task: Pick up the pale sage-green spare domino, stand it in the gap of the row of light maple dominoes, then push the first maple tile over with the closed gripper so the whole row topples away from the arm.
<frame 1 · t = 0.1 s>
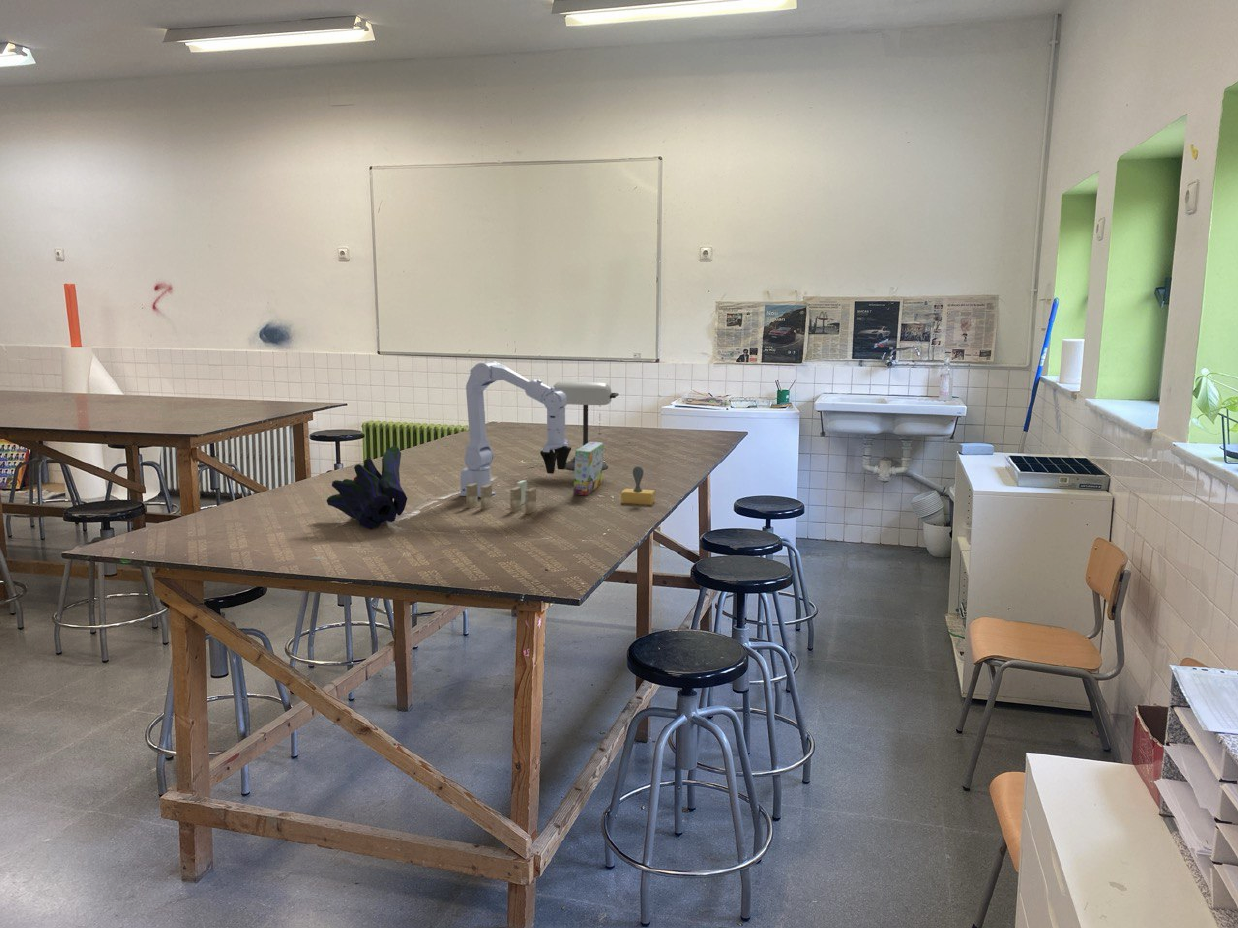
hand: (555, 471, 286), 10 cm above the table, fingers open, 7 cm apart
spare domino: (522, 503, 285), on the table
domino 5: (530, 511, 273), on the table
snack box: (588, 489, 308), on the table
lamp: (583, 468, 346), on the table
dark blue lobed piece: (370, 520, 261), on the table
domino 4: (515, 510, 275), on the table
rubber stamp: (637, 503, 289), on the table
domino 2: (486, 507, 278), on the table
domino 1: (472, 506, 280), on the table
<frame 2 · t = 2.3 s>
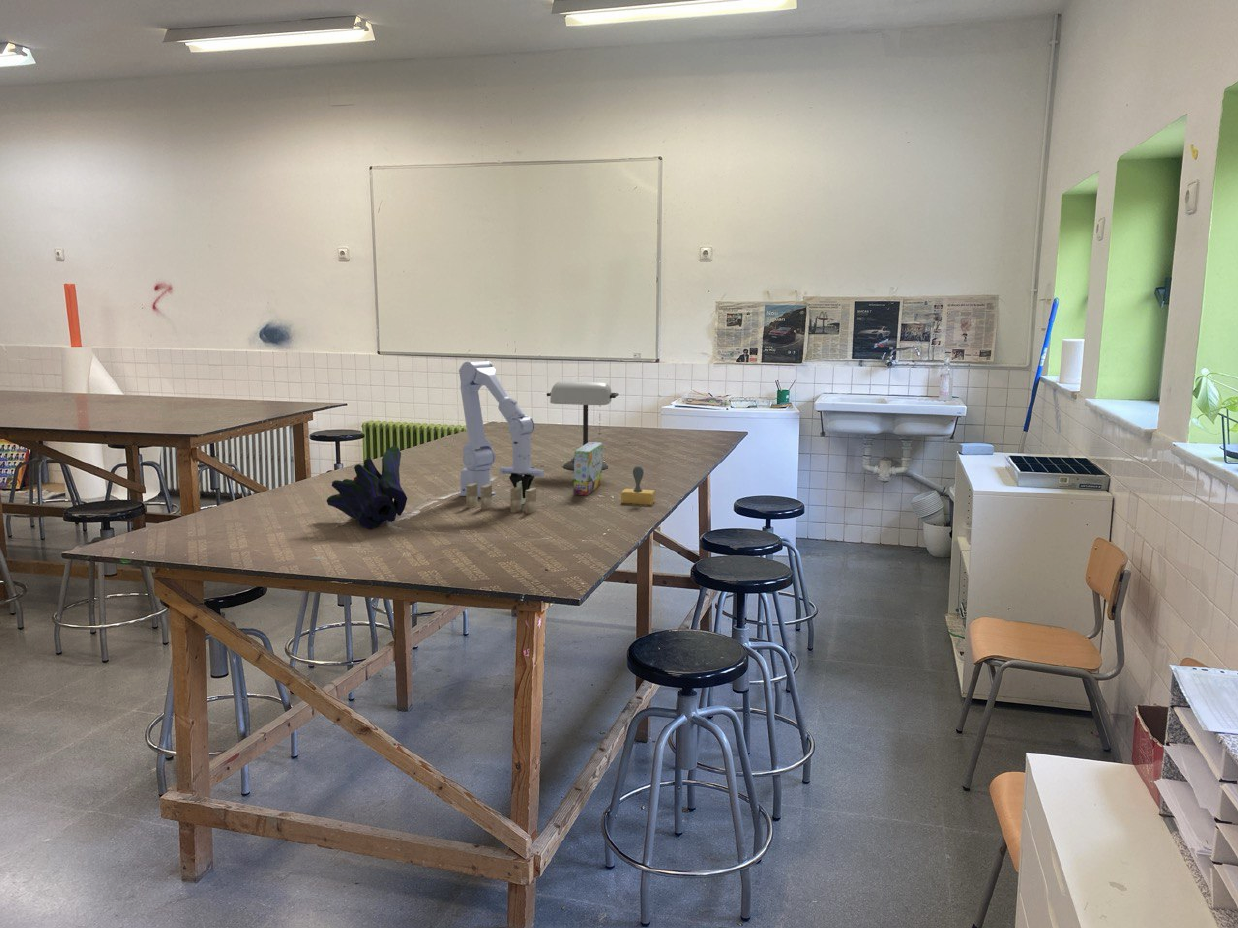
hand: (522, 497, 285), 2 cm above the table, fingers closed on spare domino, 2 cm apart
spare domino: (522, 503, 285), on the table, touching gripper
everything else where it was.
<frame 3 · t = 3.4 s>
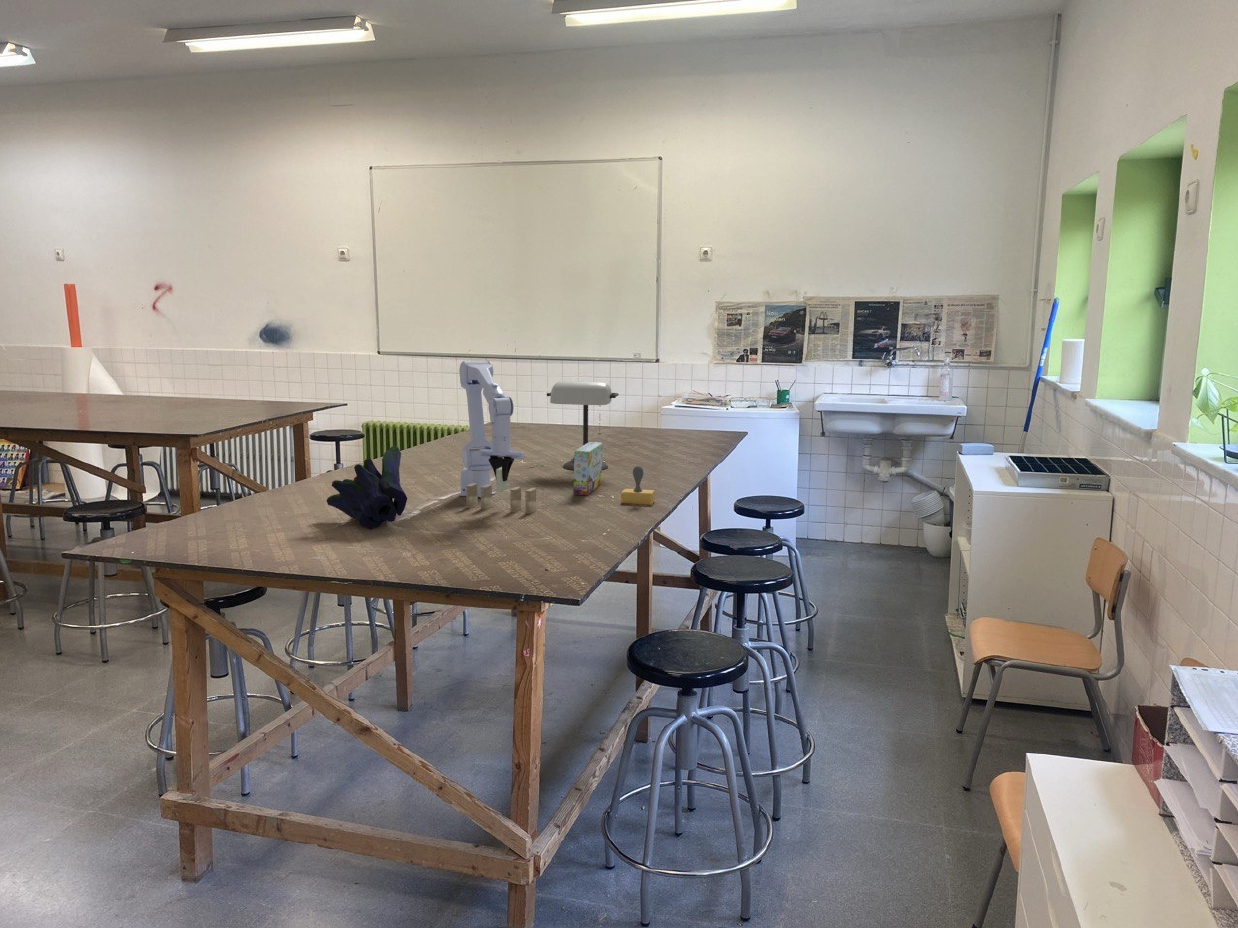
hand: (501, 480, 275), 9 cm above the table, fingers closed on spare domino
spare domino: (502, 490, 276), point 6 cm above the table, touching gripper
everything else where it was.
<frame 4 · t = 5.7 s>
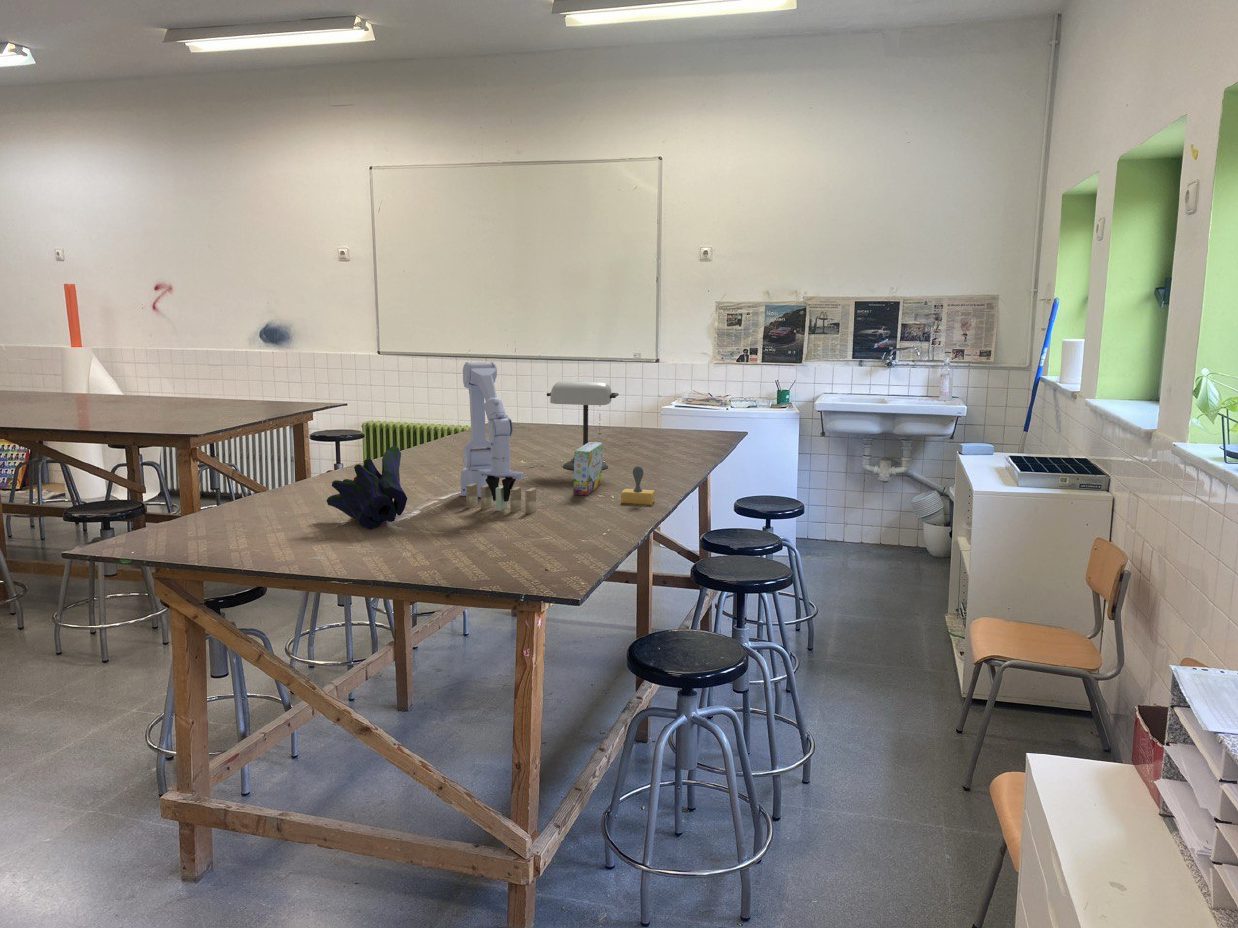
hand: (501, 500, 276), 3 cm above the table, fingers open, 3 cm apart
spare domino: (501, 509, 277), on the table
everything else where it was.
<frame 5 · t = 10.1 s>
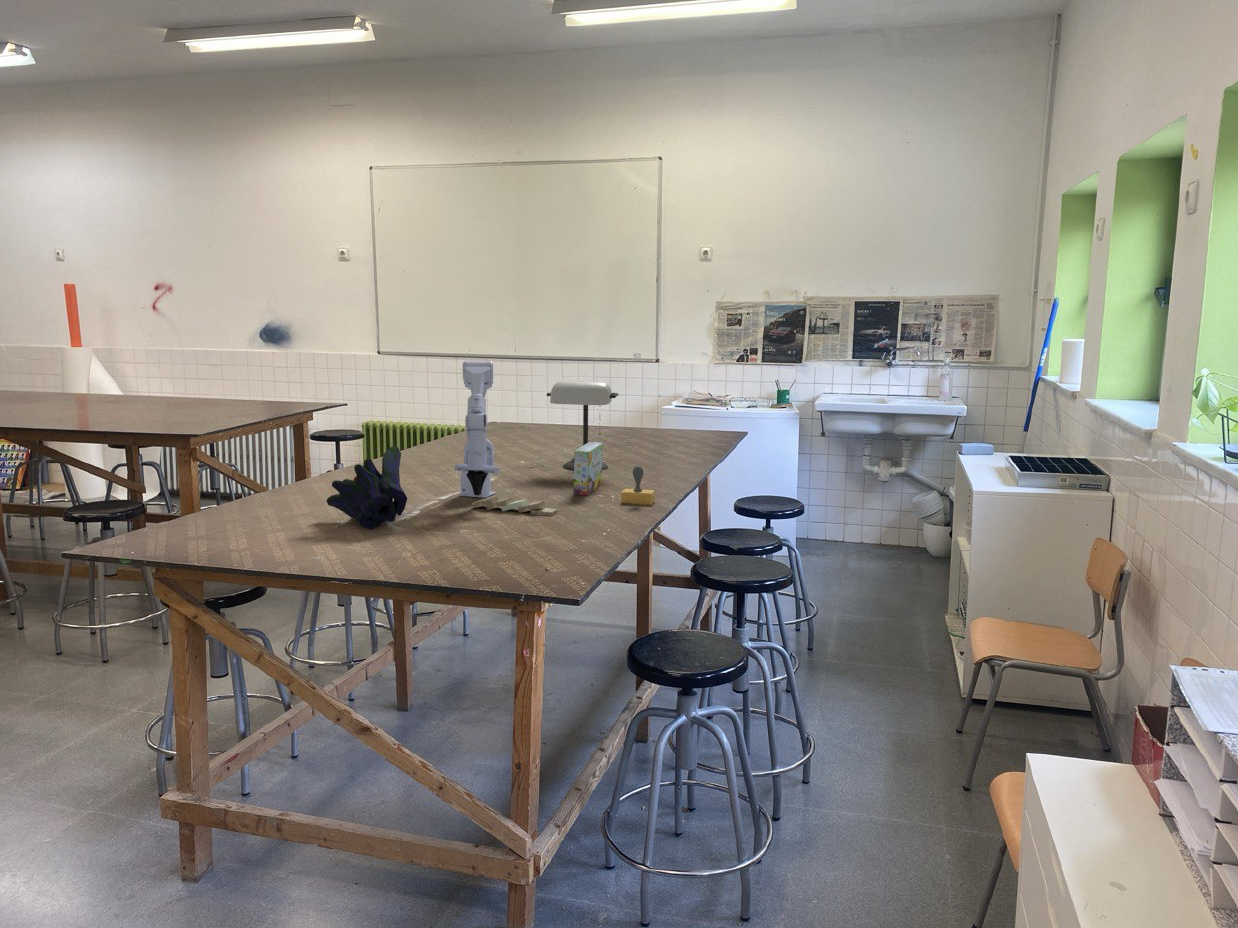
hand: (477, 494, 278), 4 cm above the table, fingers closed
spare domino: (504, 507, 276), point 1 cm above the table, tilted 73°, touching domino 2, domino 4
domino 5: (533, 511, 273), on the table, tilted 90°
domino 4: (521, 508, 274), point 1 cm above the table, tilted 74°, touching spare domino
domino 2: (490, 505, 278), point 1 cm above the table, tilted 71°, touching domino 1, spare domino
domino 1: (475, 504, 279), point 1 cm above the table, tilted 71°, touching domino 2
everything else where it was.
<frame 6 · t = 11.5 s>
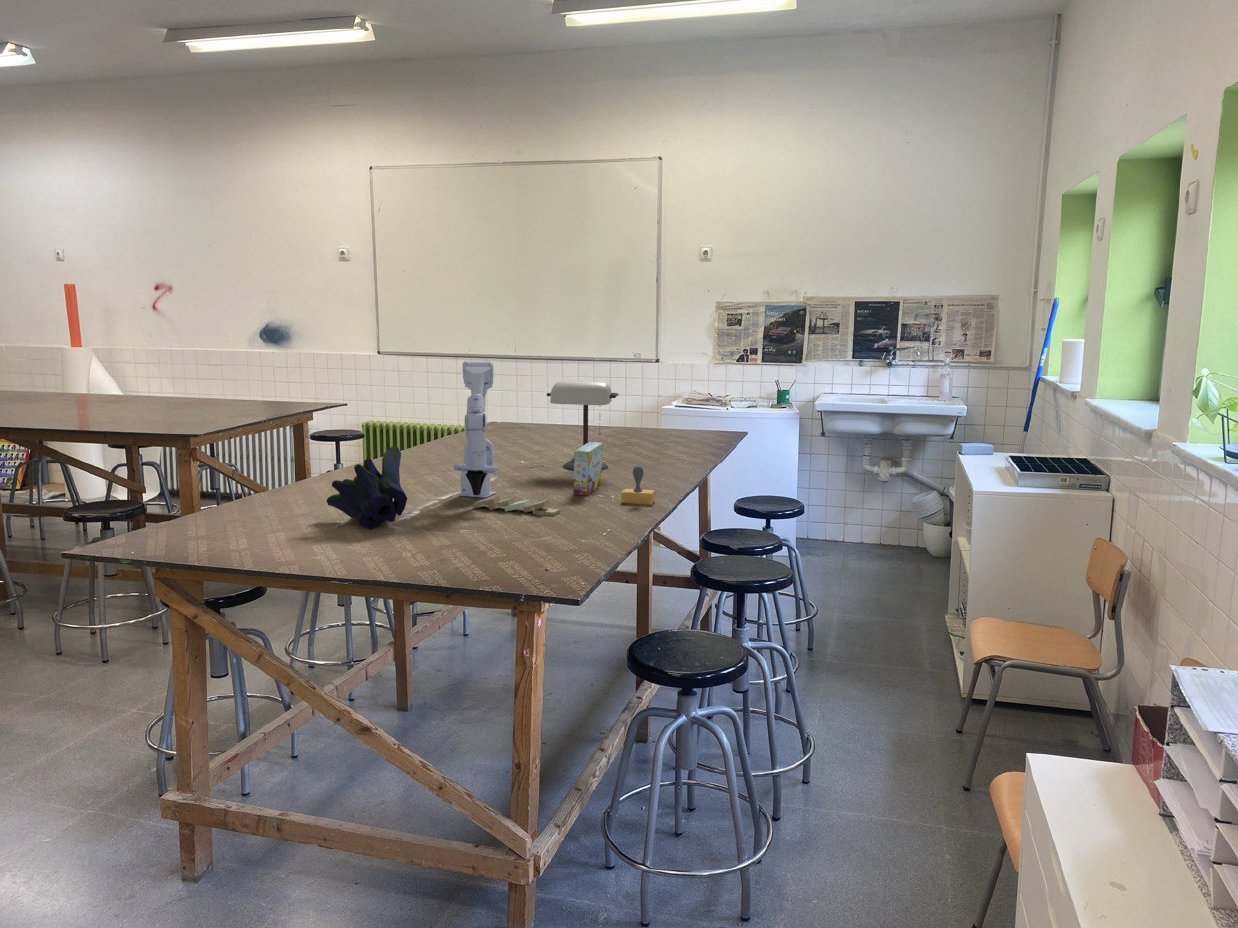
hand: (476, 494, 278), 4 cm above the table, fingers closed
spare domino: (507, 507, 276), point 1 cm above the table, tilted 74°
domino 4: (526, 508, 274), point 1 cm above the table, tilted 70°
domino 2: (491, 505, 278), point 1 cm above the table, tilted 73°, touching domino 1
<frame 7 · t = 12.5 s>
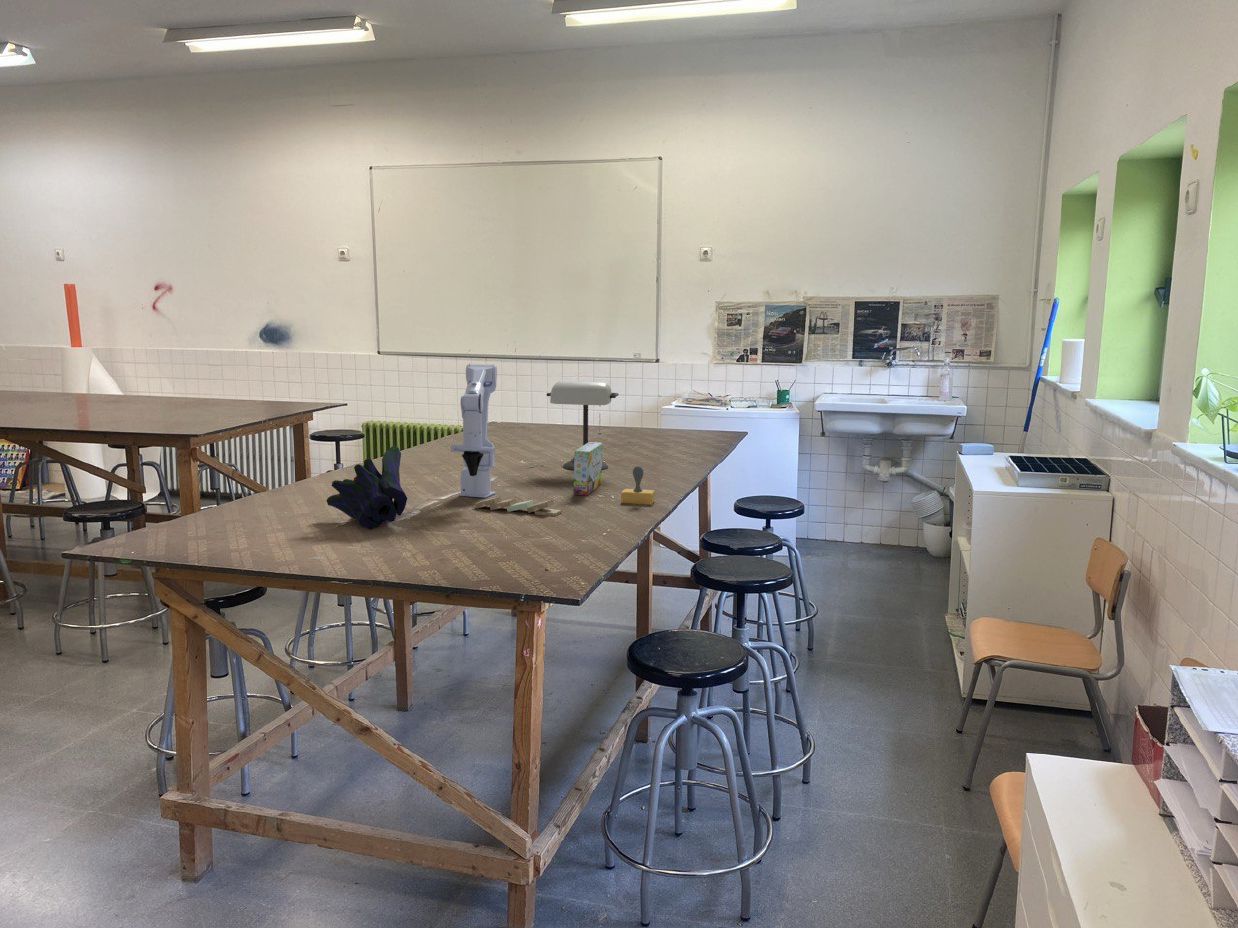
hand: (473, 475, 280), 9 cm above the table, fingers closed
spare domino: (510, 507, 275), point 1 cm above the table, tilted 74°, touching domino 2, domino 4
domino 5: (537, 512, 273), on the table, tilted 90°, touching domino 4
domino 4: (530, 509, 274), point 1 cm above the table, tilted 69°, touching domino 5, spare domino
domino 2: (493, 506, 277), point 1 cm above the table, tilted 74°, touching domino 1, spare domino
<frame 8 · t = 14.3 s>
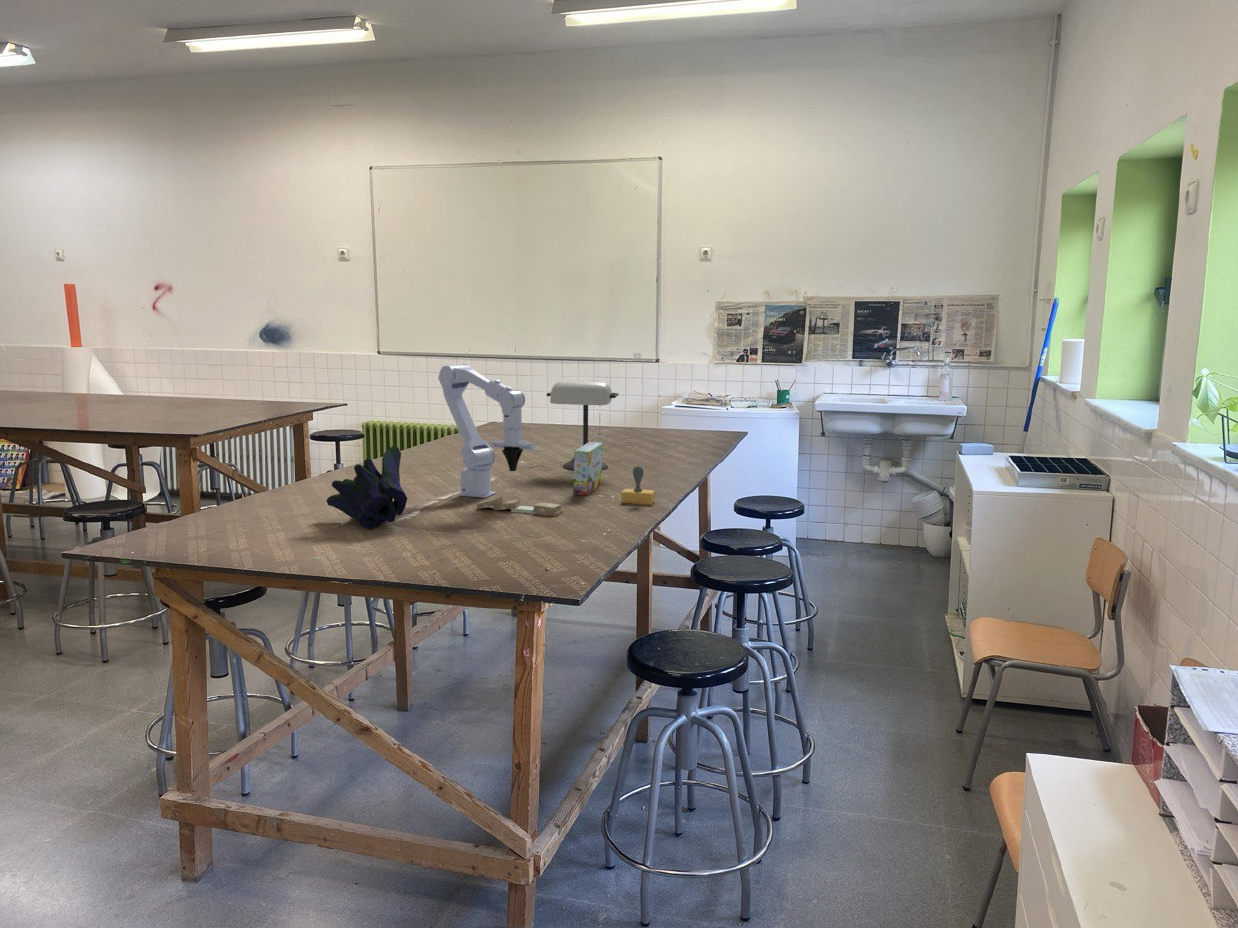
hand: (512, 470, 286), 10 cm above the table, fingers closed
spare domino: (514, 509, 275), on the table, tilted 90°, touching domino 2
domino 4: (537, 506, 273), point 2 cm above the table, tilted 90°, touching domino 5
domino 2: (496, 506, 277), point 1 cm above the table, tilted 79°, touching domino 1, spare domino
domino 1: (479, 505, 278), point 1 cm above the table, tilted 73°, touching domino 2
at the end: domino 5 tilted 90°; spare domino tilted 90° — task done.
